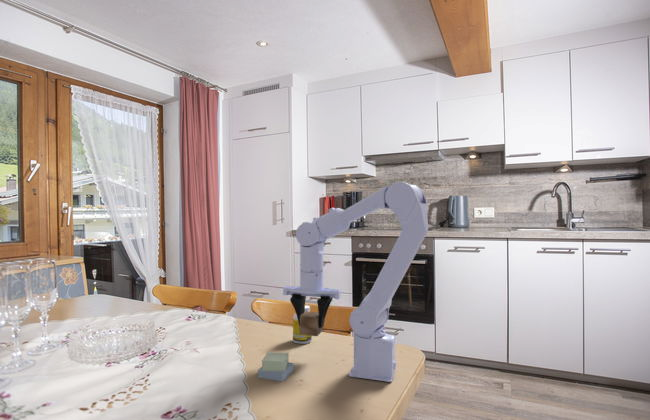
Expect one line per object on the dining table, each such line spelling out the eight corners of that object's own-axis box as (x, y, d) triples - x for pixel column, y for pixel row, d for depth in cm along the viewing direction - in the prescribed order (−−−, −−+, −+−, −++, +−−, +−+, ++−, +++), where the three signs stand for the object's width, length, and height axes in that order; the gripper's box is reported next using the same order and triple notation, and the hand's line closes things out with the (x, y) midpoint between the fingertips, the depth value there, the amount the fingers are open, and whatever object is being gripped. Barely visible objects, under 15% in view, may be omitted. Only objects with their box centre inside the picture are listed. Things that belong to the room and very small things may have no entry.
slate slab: (293, 372, 85) (293, 363, 85) (282, 383, 80) (282, 373, 80) (269, 369, 87) (270, 359, 87) (257, 380, 82) (257, 370, 82)
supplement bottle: (309, 345, 102) (309, 309, 102) (290, 343, 103) (290, 308, 103) (313, 338, 107) (314, 304, 108) (295, 337, 108) (296, 303, 109)
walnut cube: (322, 330, 93) (322, 312, 93) (316, 336, 89) (317, 317, 89) (305, 328, 95) (306, 311, 95) (299, 334, 90) (299, 315, 90)
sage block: (288, 362, 86) (288, 352, 86) (284, 371, 81) (284, 361, 81) (267, 361, 86) (267, 352, 86) (262, 370, 81) (262, 360, 81)
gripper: (344, 270, 94) (343, 323, 93) (290, 267, 98) (290, 318, 98) (336, 274, 87) (336, 332, 87) (279, 271, 91) (279, 326, 91)
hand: (311, 325), depth 92 cm, fingers closed on walnut cube, 4 cm apart
